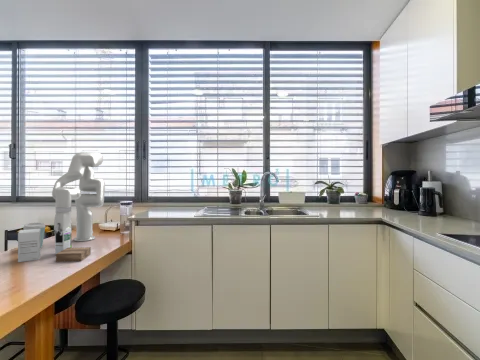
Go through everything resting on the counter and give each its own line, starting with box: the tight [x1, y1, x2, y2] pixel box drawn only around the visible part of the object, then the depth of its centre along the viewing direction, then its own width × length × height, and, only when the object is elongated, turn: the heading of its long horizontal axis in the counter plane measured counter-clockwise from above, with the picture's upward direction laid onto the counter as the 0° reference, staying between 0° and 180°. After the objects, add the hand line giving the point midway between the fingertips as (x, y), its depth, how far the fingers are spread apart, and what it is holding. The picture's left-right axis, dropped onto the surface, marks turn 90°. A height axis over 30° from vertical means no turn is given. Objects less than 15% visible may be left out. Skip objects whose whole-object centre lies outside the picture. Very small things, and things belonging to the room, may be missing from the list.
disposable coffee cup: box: [22, 222, 47, 249], centre depth 160 cm, size 11×11×15 cm
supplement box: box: [17, 229, 41, 263], centre depth 141 cm, size 9×9×15 cm
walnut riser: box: [55, 246, 92, 263], centre depth 144 cm, size 12×12×4 cm
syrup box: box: [54, 226, 73, 255], centre depth 152 cm, size 6×6×14 cm
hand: (63, 240), depth 152 cm, fingers open, 8 cm apart
